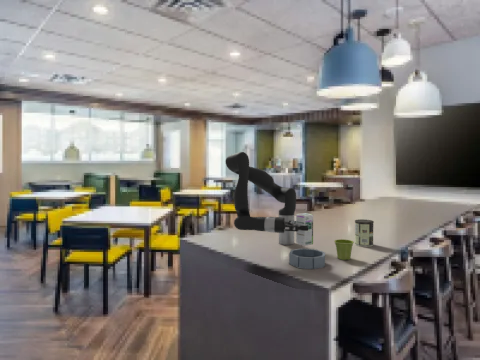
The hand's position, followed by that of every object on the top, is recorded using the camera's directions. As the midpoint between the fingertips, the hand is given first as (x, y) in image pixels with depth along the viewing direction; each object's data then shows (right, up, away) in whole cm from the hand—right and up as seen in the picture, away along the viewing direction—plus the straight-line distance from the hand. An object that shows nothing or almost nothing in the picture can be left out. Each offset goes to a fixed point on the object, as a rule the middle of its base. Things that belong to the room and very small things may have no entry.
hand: (308, 226), depth 159 cm
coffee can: (+39, -16, +37) cm, 56 cm away
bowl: (-1, -18, +1) cm, 18 cm away
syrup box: (-2, -9, +1) cm, 9 cm away
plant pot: (+19, -17, +9) cm, 28 cm away
